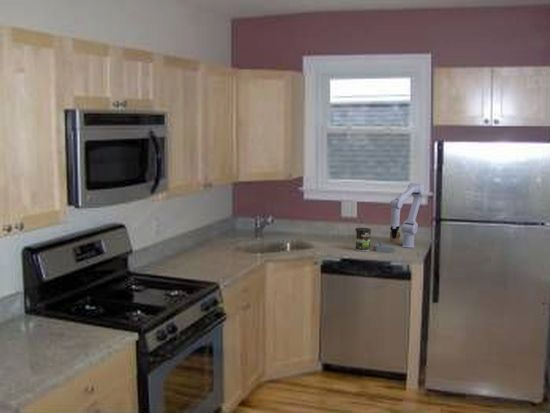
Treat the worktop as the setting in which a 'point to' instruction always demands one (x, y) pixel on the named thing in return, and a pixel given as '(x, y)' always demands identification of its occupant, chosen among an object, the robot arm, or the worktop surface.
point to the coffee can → (362, 239)
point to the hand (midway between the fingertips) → (394, 237)
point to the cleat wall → (383, 248)
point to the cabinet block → (396, 237)
